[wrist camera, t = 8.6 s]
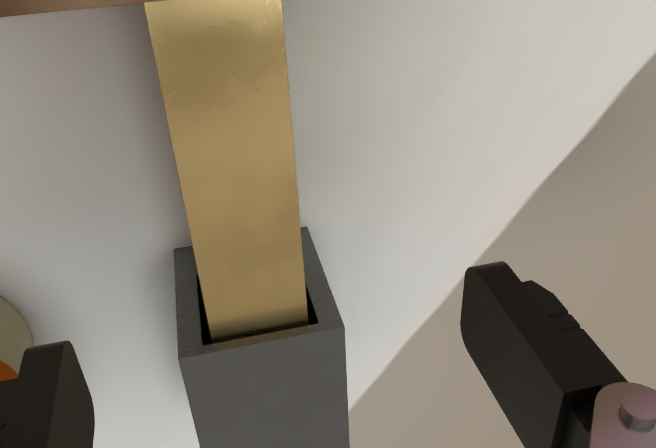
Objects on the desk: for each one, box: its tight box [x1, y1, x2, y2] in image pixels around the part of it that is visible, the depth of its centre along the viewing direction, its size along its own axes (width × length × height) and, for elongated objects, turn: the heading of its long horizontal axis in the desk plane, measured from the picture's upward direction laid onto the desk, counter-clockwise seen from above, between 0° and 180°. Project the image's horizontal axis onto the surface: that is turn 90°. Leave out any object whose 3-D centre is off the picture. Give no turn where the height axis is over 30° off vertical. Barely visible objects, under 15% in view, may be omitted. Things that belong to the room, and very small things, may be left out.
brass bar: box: [144, 0, 309, 344], centre depth 25 cm, size 4×21×4 cm, turn 3°
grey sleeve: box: [174, 227, 350, 448], centre depth 32 cm, size 7×10×8 cm
